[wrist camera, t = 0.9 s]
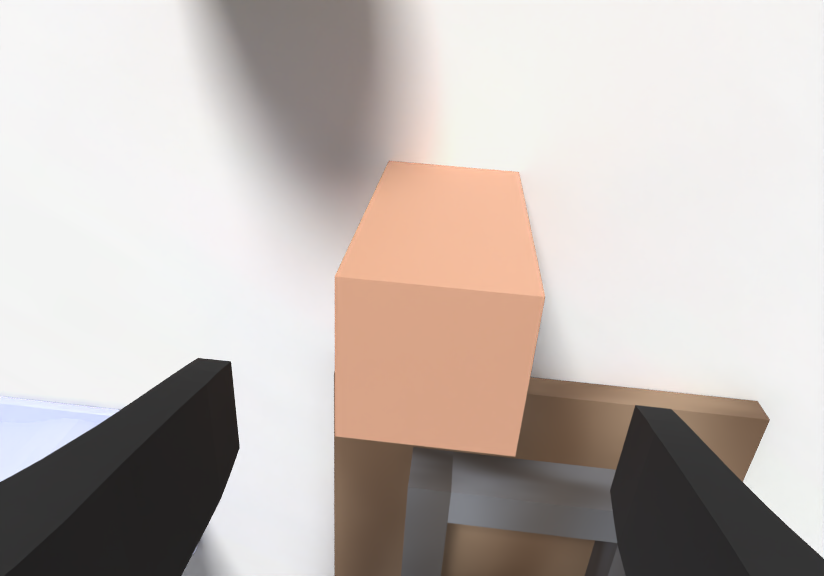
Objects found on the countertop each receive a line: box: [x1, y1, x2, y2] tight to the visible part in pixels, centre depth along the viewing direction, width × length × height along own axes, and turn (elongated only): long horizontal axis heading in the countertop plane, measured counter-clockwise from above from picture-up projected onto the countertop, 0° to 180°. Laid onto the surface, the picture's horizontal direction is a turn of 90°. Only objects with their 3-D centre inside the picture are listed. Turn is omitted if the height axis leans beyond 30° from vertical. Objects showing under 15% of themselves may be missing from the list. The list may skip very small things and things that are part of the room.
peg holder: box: [334, 372, 770, 576], centre depth 24 cm, size 15×15×3 cm
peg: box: [335, 161, 545, 457], centre depth 16 cm, size 4×4×8 cm
